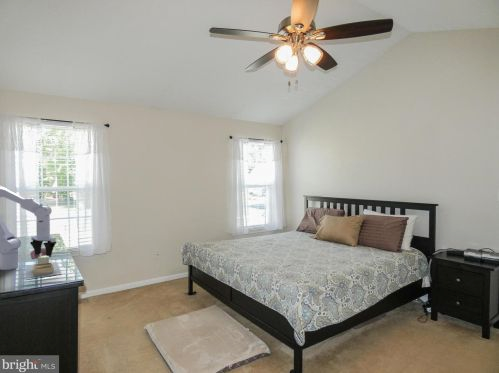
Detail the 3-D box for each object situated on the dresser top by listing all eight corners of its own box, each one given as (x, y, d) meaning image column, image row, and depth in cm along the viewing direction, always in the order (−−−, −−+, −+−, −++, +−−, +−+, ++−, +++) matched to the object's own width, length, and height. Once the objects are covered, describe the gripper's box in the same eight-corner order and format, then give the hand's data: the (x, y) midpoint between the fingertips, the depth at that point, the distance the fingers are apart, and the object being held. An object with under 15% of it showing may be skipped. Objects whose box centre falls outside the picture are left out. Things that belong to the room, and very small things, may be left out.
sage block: (37, 265, 156) (37, 256, 156) (48, 264, 159) (48, 255, 159) (38, 268, 152) (38, 258, 152) (48, 266, 155) (48, 257, 155)
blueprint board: (25, 267, 156) (25, 259, 156) (57, 263, 164) (57, 255, 164) (25, 280, 137) (25, 271, 137) (61, 274, 145) (61, 266, 145)
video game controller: (50, 259, 179) (48, 247, 181) (52, 256, 177) (50, 245, 178) (30, 262, 172) (28, 250, 173) (32, 260, 169) (30, 248, 171)
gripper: (25, 229, 153) (25, 255, 154) (46, 231, 149) (46, 258, 149) (38, 227, 160) (38, 252, 161) (59, 228, 156) (59, 254, 156)
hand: (43, 255), depth 155 cm, fingers open, 7 cm apart
